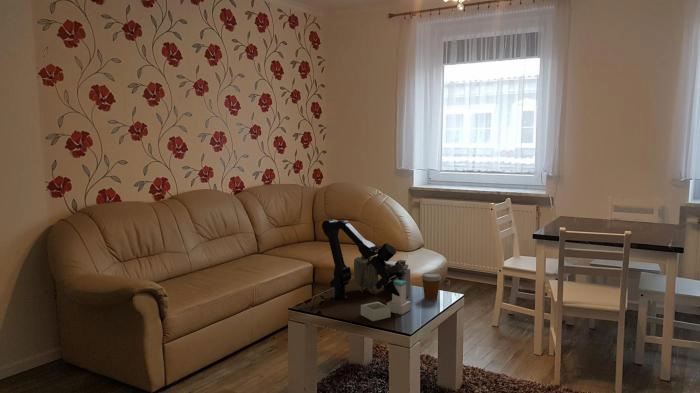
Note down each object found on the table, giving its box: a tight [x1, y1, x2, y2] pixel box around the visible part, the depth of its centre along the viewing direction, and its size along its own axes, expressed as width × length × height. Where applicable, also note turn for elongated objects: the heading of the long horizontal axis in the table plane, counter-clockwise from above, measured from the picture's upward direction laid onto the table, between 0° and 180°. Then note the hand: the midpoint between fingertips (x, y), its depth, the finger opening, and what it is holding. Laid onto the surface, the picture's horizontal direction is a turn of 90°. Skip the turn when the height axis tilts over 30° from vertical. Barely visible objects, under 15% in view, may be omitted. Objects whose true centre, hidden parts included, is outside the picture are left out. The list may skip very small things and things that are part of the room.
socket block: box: [360, 301, 392, 322], centre depth 226 cm, size 10×10×4 cm
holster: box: [386, 299, 412, 315], centre depth 233 cm, size 8×8×4 cm
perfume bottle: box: [396, 259, 411, 298], centre depth 255 cm, size 7×7×18 cm
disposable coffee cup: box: [421, 272, 442, 301], centre depth 251 cm, size 10×10×12 cm
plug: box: [391, 280, 407, 305], centre depth 232 cm, size 5×5×12 cm
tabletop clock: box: [353, 255, 379, 295], centre depth 261 cm, size 14×9×25 cm, turn 15°
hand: (401, 294), depth 232 cm, fingers closed on plug, 4 cm apart
